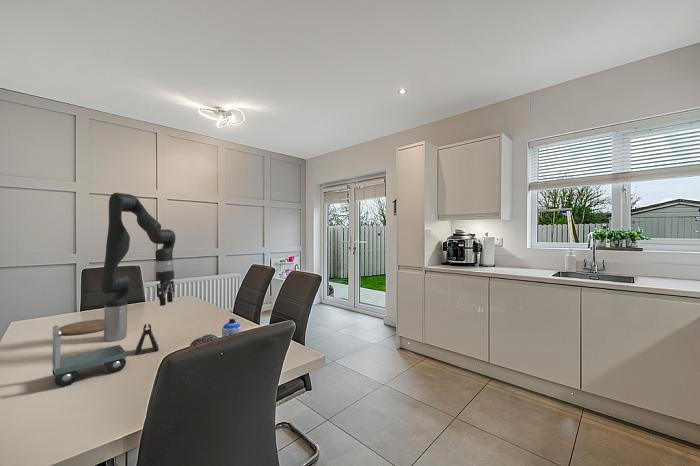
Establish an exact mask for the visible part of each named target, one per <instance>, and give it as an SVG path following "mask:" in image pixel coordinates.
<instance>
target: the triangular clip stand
mask: <svg viewBox="0 0 700 466" xmlns="http://www.w3.org/2000/svg"><path fill="white" fill-rule="evenodd" d="M146 328H148V329H146ZM146 336H149V339H150V343H151V347H148V348H142V347H143V344H144V340H145V338H146ZM135 347H136V348H135V350H134V356H135V357H136V356H142V355H146V354H152V353H156V352H157V353H158V352H159V344H158V342H157V341H156V337H155V336H154V334H153V331H152V325H151V324H150V323H148V326H147V323H145V324H144V325H143V329H142V333H141V336H140V339H139V341H138V343H137V345H136V346H135Z"/></svg>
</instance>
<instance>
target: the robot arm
mask: <svg viewBox="0 0 700 466" xmlns="http://www.w3.org/2000/svg"><path fill="white" fill-rule="evenodd" d="M123 212H124V213H132V214H133V215H135V216H136V223H137V224H138V226H139V227H140V228H141V229H142V230H143V231H144V232H146V234H147V236H148V238H149V240H150V241H151V242H152V243H153V244H156V245H162V246H161V248H158V249H157V250H155V251H154V253H155V255H154V256H155V257H154V258H155V280H156V281H157V282H159V283H156V297H157V298H159V306H160V307H163V306H166V304H167V303H173V301H174V300H173V294H174V293H175V282H174V280H175V267H174V260H173V258H174V257H173V251H174V247H175V243H176V234H175V232H174V231H173V230H171V229H164V228H163V229H162V225H161V224H160V222H159V221H158V220H157V219H155V218H154V217H153V216H152V215H151V214H150V213H149V212H148V211H147V209H146V208H145V207H144V205H143V204H142V203H141V201H140V200H139V198H137V197H136V196H135V195H133V194H130V193H122V192H113V193H112V194H111V195H110V197H109V199H108V229H107V237H106V244H105V245H106V246H105V258H104V264H103V265H104V266H103V270H102V274H101V279H100V289H101V292H102V293H103V294H113V296H111V297H109V298H108V299H106V300H104V316H103V317H104V318H103V319H104V330H103V341H104V342H115V341H120V340H123V339H125V338H127V336H128V335H127V333H128V301H129V298H130V287H131V281H130V280H131V279H130V277H129V276H128V274H126V273H116V271H117V268H118V266H119V264H120V263H121V261H122V260H123V259H124V258H125V257H126V255H127V253H128V252H129V250H130V243H131V237H130V236H131V235H130V234H129V232H128V231H127V228H126V227H125V225H124V222H123V220H122V217H123V216H122V213H123ZM166 301H167V303H166Z"/></svg>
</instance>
